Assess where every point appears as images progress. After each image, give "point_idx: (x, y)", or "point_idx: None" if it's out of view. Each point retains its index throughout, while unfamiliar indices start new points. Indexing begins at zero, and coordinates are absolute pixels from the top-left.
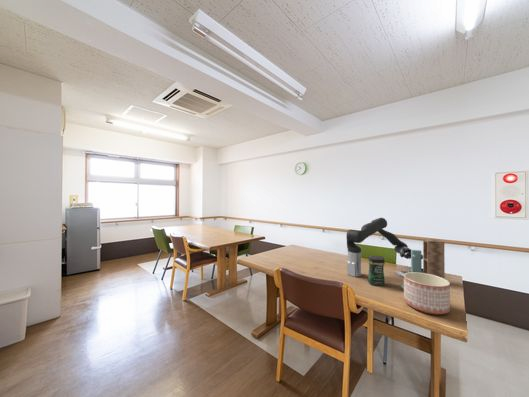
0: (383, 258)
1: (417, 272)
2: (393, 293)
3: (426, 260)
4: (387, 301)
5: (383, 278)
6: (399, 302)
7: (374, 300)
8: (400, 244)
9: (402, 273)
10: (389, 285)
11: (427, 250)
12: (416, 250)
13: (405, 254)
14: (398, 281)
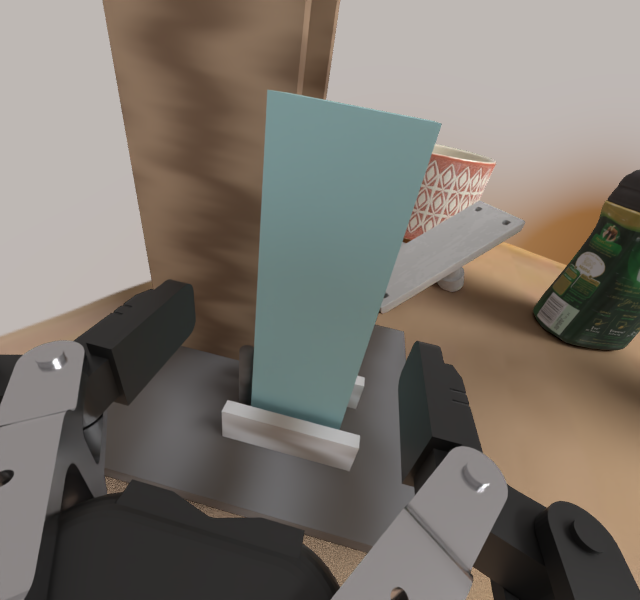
0: (632, 173)
1: (450, 156)
2: (487, 272)
3: None
4: (500, 250)
5: (554, 281)
6: None
7: (533, 256)
8: None
9: (489, 206)
10: (508, 313)
11: (331, 45)
12: (358, 106)
13: (463, 466)
14: (465, 346)
